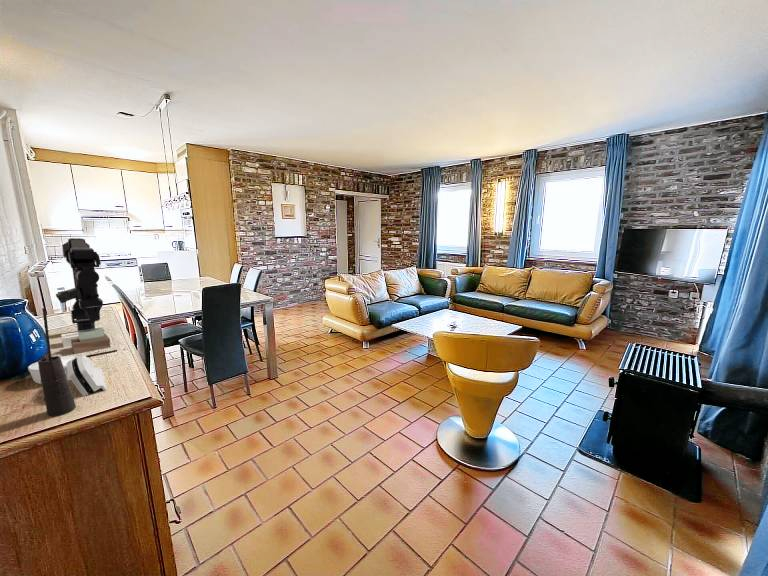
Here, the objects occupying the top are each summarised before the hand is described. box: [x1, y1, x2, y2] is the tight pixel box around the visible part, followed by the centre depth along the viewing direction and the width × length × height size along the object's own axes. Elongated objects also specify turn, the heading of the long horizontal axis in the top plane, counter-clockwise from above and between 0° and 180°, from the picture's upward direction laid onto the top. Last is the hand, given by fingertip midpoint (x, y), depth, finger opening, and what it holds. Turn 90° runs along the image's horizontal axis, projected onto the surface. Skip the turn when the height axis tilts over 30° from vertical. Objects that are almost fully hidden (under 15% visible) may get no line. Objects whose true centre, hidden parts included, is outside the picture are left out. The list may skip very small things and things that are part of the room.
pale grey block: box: [77, 327, 106, 342], centre depth 119 cm, size 4×7×7 cm, turn 140°
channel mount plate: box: [71, 333, 118, 359], centre depth 119 cm, size 14×13×5 cm
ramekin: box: [27, 355, 78, 385], centre depth 97 cm, size 11×11×5 cm
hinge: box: [67, 354, 107, 397], centre depth 93 cm, size 17×5×10 cm, turn 44°
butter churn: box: [37, 307, 77, 417], centre depth 78 cm, size 9×10×28 cm
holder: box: [60, 331, 79, 348], centre depth 124 cm, size 7×9×5 cm
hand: (90, 320), depth 121 cm, fingers open, 9 cm apart
